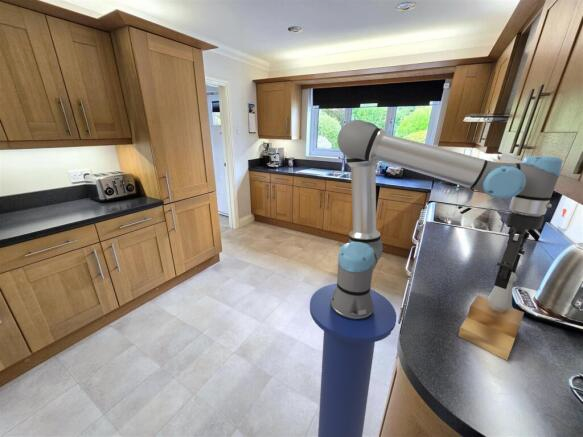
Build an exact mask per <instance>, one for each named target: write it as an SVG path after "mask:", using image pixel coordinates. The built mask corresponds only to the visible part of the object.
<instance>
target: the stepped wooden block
mask: <svg viewBox="0 0 583 437" xmlns="http://www.w3.org/2000/svg"><path fill="white" fill-rule="evenodd" d="M524 315H525V312H524V311H521V310H519V309H516V308H514V307H512V306H511V307H510V308H509V309H508V310H507V311H505V312H498V311H495V310H493V309H492V308H491V307H490V306H489V302H488V297H484V296H482V295H479V294H477V295H476V297H475V298H474V300H473V301H472V302H471V304H470V305H469V308H468V313H467V317H466V318H465V319H464V321H463V323H462V324H461V326H459V327H460V328H459V331H458V335H457V336H458V337H460V338H461V339H463V340H466V341H467V342H469V343H471V344H474V345H475V346H478V347H479V348H481V349H483V350H485V351H487V352H489V353H491V354H493V355H495V356H497V357H499V358H501V359H503V360H505V361H508V359H509V357H510V354H511V351H512V348H513V346H514V343H515V341H516V338H517V336H518V332H519V329H520V326H521V324H522V320H523V318H524Z"/></svg>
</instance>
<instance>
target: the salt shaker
mask: <svg viewBox="0 0 583 437" xmlns="http://www.w3.org/2000/svg"><path fill="white" fill-rule="evenodd" d="M517 279H518V276H517V274H516V272H515V273H513V272H512V273H511V276H510V279H509V282H508V285H507V288H506V289H503V288H500V287H497V286H495V285H494V287H493V288H492V289H491V292H490V293H489V295H488V297H487V299H488V302H489V306H490V307H491V308H492V309H493V310H495V311H498V312H505V311H507V310H508V309H509V308H510V307H511V308H512V304H513V287H514V286H513V285H514V282H516V281H517Z"/></svg>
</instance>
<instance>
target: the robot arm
mask: <svg viewBox="0 0 583 437" xmlns="http://www.w3.org/2000/svg"><path fill="white" fill-rule="evenodd" d="M337 145H338V149H339V150H340V152H341V153H342V154H343V155H345V157H346V158H345V160H346V165H347V166H349V167H350V181H351V182H350V184H351V211H352V212H351V214H352V230H351V231H350V232H348V239H349V240H348V242H347V243H344V244H343V245H342V246H341V247H340V248H339V252H338V257H337V260H338V261H337V262H338V263H337V279H336V284H337V286H336V288H335V290H334V293H333V295H332V297H331V308H332V310H333V311H334V312H335V313H336V314H337V315H339V316H341V317H343V318H345V319H348V320H355V321H359V320H365V319H367V318H369V317H370V316H371V315H372V314H373V309H374V305H373V301H372V296H371V292H370V289H371V288H372V287H371V285H372V279H373V278H372V277H373V273H374V270H375V268H376V266H377V264H378V262H379V260H380V259H381V257H382V256H383V250H384V249H383V248H384V247H383V242H382V241H381V240H382V239H381V232H380V231H379V230H378V229H377V188H376V187H377V184H376V182H377V181H376V180H377V177H376V175H377V173H376V170H377V169H376V167H377V165H378V164H379V162H382V163H385V164H389V165H392V166H396V167H398V168H403V169H405V170H408V171H412V172H416V173H418V174H422V175H424V176H429V177H432V178H435V179H438V180H441V181H445V182H448V183H451V184H455V185H458V186H461V187H465V188H468V189H471V190H473V191H477V192H481V193H484V194H486V195H487V196H489V197H491V198H494V199H499V200H505V199H506V200H507V199H511V200H510V203H509V207H508V209H509V211H508V212H507V214H506V218H505V224H506V225H508V226H510V227H513V228H514V229H513V228H512V229H511V230H510V231H509V234H508V239H507V241H506V247H505V250H504V252H503V254H502V258H501V261H500V262H497V264H496V266H498V267H499V268H498V271H497V275H496V278H495V281H494V284H493V286H494V287H495V286H497V287H500V288H503V289H506V288H507V285H508V282H509V279H510V276H511V273H512V272H513V273H515V274H516V272H517V269H518V265H519V263H520V259H521V257H522V255H523V256H524V255H525V254H526V251H525V250H524V247H525V244H526V243H527V241H528V239H529V237H530V232H529V230H530V231H536V230H537V231H538V230H540V229H541V228H542V226H543V224H544V219H545V216H544V215H546V213H547V211H548V208H549V209H550V208H552V207H553V205H552V204H551V203H550V201H551V198H552V195H553V193H554V190H555V188H556V185H557V182H558V180H559V177H560V174H561V171H562V167H563V159H562V158H561V157H559V156H545V155H544V156H541V155H534V156H533V155H528V156H525V157H524V158H523V160H522V161H521V162H515V163H514V162H500V161H498V162H497V161H496V162H495V161H491V160H486V159H483V158H480V157H476V156H472V155H470V154H469V155H468V154H466V153H465V154H464V153H461V152H457V151H453V150H449V149H445V148H442V147H438V146H434V145H430V144H426V143H423V142H419V141H415V140H410V139H408V138H407V139H406V138H404V137H400V136H396V135H392V134H388V133H386V132H385V130H384V128H380V127H378V126H377V125H376V124H374V123H373V122H370V121H365V120H362V119H353V120H349V121H348V122H346V123H345V124H344V125H343V126H342V127H340V129H339V132H338V134H337Z"/></svg>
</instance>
